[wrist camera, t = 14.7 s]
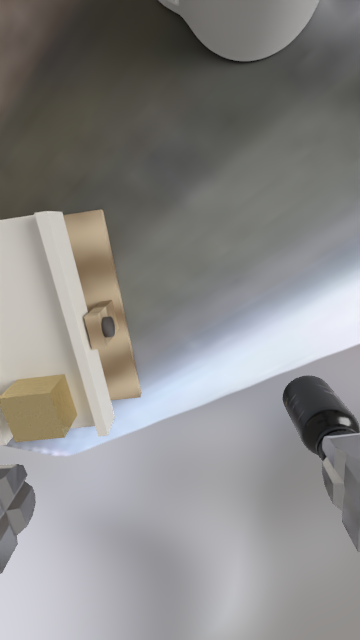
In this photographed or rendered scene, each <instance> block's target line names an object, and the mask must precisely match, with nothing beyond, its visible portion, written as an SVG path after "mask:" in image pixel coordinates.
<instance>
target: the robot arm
mask: <svg viewBox="0 0 360 640" xmlns="http://www.w3.org/2000/svg"><path fill="white" fill-rule="evenodd" d="M158 1H159V2H160V3H162V4H163V5H164V6H166V7H167V8H169V9H170V10H172V11H174V12H175V13H177V14H179V15H180V16H181V17H182V18H183V19H184V20H185V21H186V22H187V24H188V25H189V27H190V28H191V30H192V31H193V33H194V34H195V35H196V37H197V38H198V39H199V40H200V41H201V42H202V43H203V44H204V45H205V46H206V47H207V48H209V49H210V50H211V51H213V52H214V53H216V54H218V55H220V56H222V57H224V58H227V59H231V60H235V61H254V60H259V59H263V58H266V57H268V56H271V55H273V54H275V53H276V52H278V51H280V50H281V49H283V48H284V47H286V46H287V45H288V44H289V43H290V42H291V41H293V40H294V39H295V38H296V37H297V35H298V34H299V33H300V32H301V31H302V30H303V28H304V27H305V26H306V24H307V23H308V21H309V20H310V18H311V16H312V15H313V13H314V11H315V9H316V7H317V5H318V3H319V1H320V0H158ZM322 449H323V451H324V453H325V455H326V456H327V457H326V459H325V460H324V461H323V462H322V475H323V479H324V484H325V487H326V490H327V492H328V495H329V497H330V498H331V501H332V503H333V504H334V505H335V506H337V507H338V508H340V509H341V510H342V511H343V513H342V522H343V524H344V526H345V528H346V530H347V532H348V534H349V536H350V538H351V540H352V542H353V544H354V545H355V547H356V549H357V551H358V552H360V433H354V434H344V435H334V436H324V439H323V442H322ZM26 477H27V473H26V471H25V468H24V466H23V465H19V464H15V465H0V574H1V573H2V572H3V570H4V568H5V566H6V564H7V563H8V561H9V559H10V557H11V555H12V553H13V552H14V550H15V548H16V546H17V544H18V543H17V535H18V534H19V533H20V532H21V531H22V530H23V529H24V528H26V527H27V525H28V523H29V521H30V519H31V517H32V515H33V511H34V507H35V493H34V490H33V488H32V486H30V485H29V484H28V483H26V482H25V479H26Z"/></svg>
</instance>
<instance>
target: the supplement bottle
mask: <svg viewBox="0 0 360 640" xmlns="http://www.w3.org/2000/svg"><path fill="white" fill-rule="evenodd" d="M283 402H284V405H285V407H286V410H287V412H288V414H289V416H290V417H291V420H292V422H293V423H294V426H295V427H296V430H297V432H298V434H299V435H300V437H301V439H302V442H303V443H304V445H305V446H306V447H307V448H308V449H309V450H310V451H311V452H313V453H315V454H317V455H319V457H320V458H321V459H322V461H324V460H325V459H326V457H327V456H326V455H325V453H324V451H323V449H322V442H323V439H324V436H334V435H344V434H354V433H360V427H359V423H358V421H357V420H356V418H355V417H354V415H353V414H352V413H351V412H350V411H349V409H348V408H347V407H346V406H345V405H344V403H343V402H342V401H341V400H340V399H339V397H338V396H337V395H336V394H335V393H334V391H333V390H332V389H331V388H330V387H329V386H328V384H327V383H325V382H324V381H323V380H322V379H320V378H318V377H315V376H302V377H299V378H296V379H294V380H293V381H291V382H290V383H289V384H288V385H287V387H286V388H285V390H284V393H283Z"/></svg>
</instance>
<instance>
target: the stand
mask: <svg viewBox="0 0 360 640" xmlns="http://www.w3.org/2000/svg"><path fill="white" fill-rule="evenodd" d="M63 217H64V221H65V225H66V229H67V232H68V236H69V240H70V244H71V248H72V252H73V256H74V260H75V264H76V268H77V271H78V275H79V279H80V283H81V287H82V291H83V295H84V299H85V303H86V306H87V310H88V314H87V315H85V316H84V319H85V323H86V326H87V330H88V334H89V338H90V342H91V346H92V350H95V349H98V353H99V357H100V361H101V365H102V369H103V373H104V377H105V380H106V384H107V388H108V392H109V396H110V400H118V399H128V398H137V397H140V396H141V389H140V385H139V380H138V375H137V370H136V366H135V361H134V356H133V351H132V346H131V342H130V337H129V332H128V327H127V323H126V318H125V313H124V308H123V304H122V299H121V294H120V289H119V285H118V280H117V275H116V270H115V266H114V261H113V256H112V251H111V246H110V242H109V237H108V232H107V227H106V223H105V218H104V213H103V210H95V211H88V212H82V213H75V214H69V215H63Z"/></svg>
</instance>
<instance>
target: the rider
mask: <svg viewBox="0 0 360 640" xmlns="http://www.w3.org/2000/svg"><path fill="white" fill-rule="evenodd" d="M0 406H1V409H2V411H3V414H4V416H5V418H6V421H7V423H8V426H9V428H10V431H11V433H12V435H13V438H14V440H15V442H22V441H33V440H43V439H53V438H63V437H65V436H66V434H67V432H68V431H69V429H70V427H71V425H72V424H73V422H74V420H75V418H76V417H77V412H76V409H75V406H74V402H73V399H72V396H71V393H70V390H69V386H68V383H67V380H66V377H65V374H61V375H52V376H43V377H35V378H26V379H18V380H17V381H16V382H15V383H13V384H12V385H11V386H10V387H9V388H8V389H7V390H6V391H5V392H4V393H3V394H2V395H1V396H0Z"/></svg>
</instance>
